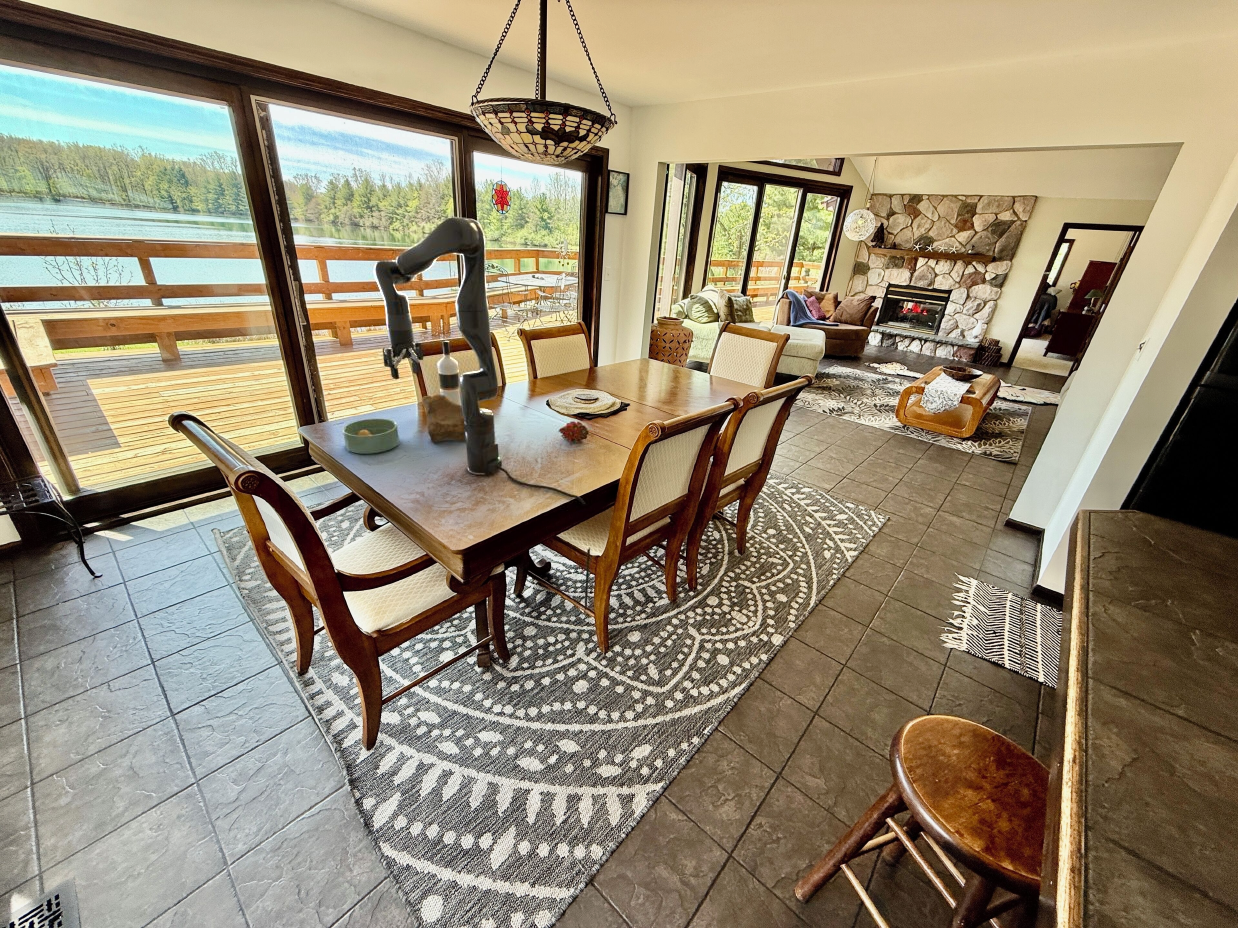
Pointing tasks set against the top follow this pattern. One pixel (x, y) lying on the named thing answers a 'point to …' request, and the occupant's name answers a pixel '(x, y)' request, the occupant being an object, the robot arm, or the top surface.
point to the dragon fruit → (574, 431)
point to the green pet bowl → (371, 436)
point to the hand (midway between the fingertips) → (406, 376)
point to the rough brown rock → (444, 419)
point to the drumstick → (363, 433)
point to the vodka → (449, 376)
